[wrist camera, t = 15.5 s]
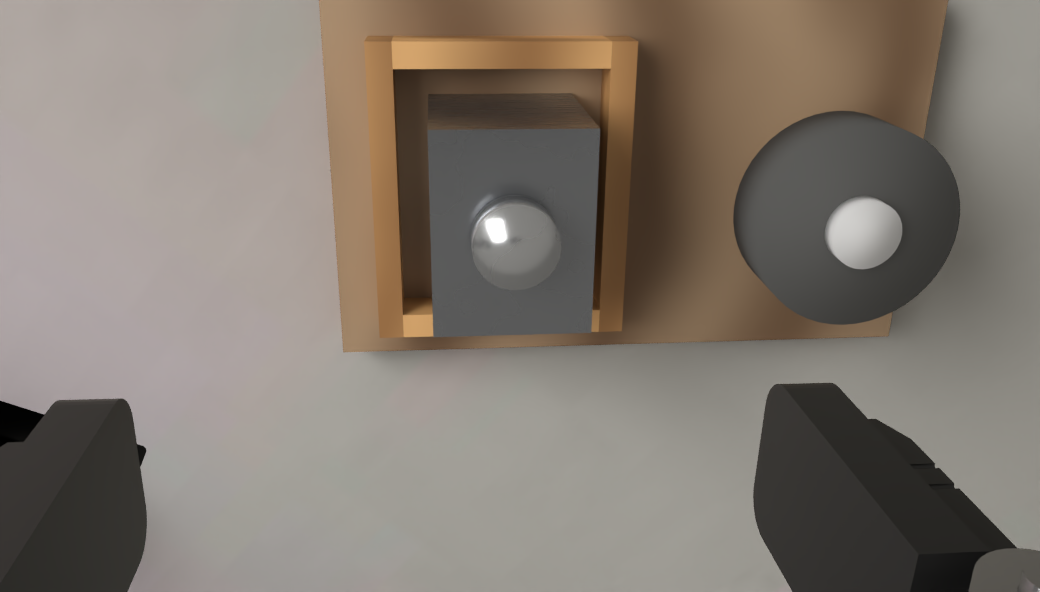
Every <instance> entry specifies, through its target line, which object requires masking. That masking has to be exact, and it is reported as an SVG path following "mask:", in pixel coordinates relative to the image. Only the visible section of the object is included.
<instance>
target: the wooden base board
mask: <svg viewBox="0 0 1040 592" xmlns="http://www.w3.org/2000/svg"><path fill="white" fill-rule="evenodd" d="M947 4H948V0H319V7H320V22H321V36H322V50H323V65H324V79H325V94H326V108H327V122H328V137H329V151H330V166H331V180H332V194H333V209H334V223H335V238H336V252H337V266H338V281H339V295H340V310H341V324H342V339H343V352H367V351H401V350H436V349H470V348H504V347H539V346H573V345H607V344H641V343H676V342H710V341H744V340H778V339H813V338H847V337H881V336H889V330H890V324H891V319H892V313H893V312H891V313H889V314H887V315H884V316H882V317H879V318H876V319H873V320H870V321H866V322H862V323H857V324H847V325H836V324H826V323H820V322H816V321H813V320H810V319H807V318H805V317H803V316H801V315H798V314H797V313H795V312H793V311H792V310H790V309H789V308H787V307H786V306H785V305H784V304H783V303H782V302H781V301H780V300H779V299H778V298H777V297H776V296H775V295H774V294H773V293H772V292H771V291H770V290H769V289H768V288H767V286H766V285H765V284H764V283H763V282H762V281H761V280H760V279H759V278H758V277H757V276H756V275H755V273H754V272H753V271H752V270H751V269H750V267H749V266H748V265H747V263H746V262H745V260H744V258H743V257H742V255H741V252H740V250H739V248H738V245H737V241H736V237H735V233H734V224H733V214H734V204H735V198H736V194H737V191H738V188H739V184H740V182H741V180H742V178H743V175H744V173H745V171H746V170H747V168H748V166H749V165H750V163H751V161H752V160H753V159H754V157H755V156H756V155H757V153H758V152H759V151H760V150H761V149H762V148H763V147H764V145H765V144H766V143H767V142H768V141H769V140H771V139H772V138H773V137H774V136H775V135H777V134H778V133H779V132H780V131H782V130H784V129H785V128H787V127H788V126H790V125H791V124H793V123H795V122H798V121H800V120H802V119H804V118H807V117H810V116H813V115H815V114H820V113H825V112H830V111H855V112H860V113H865V114H868V115H871V116H874V117H876V118H879V119H881V120H883V121H886V122H888V123H890V124H893V125H895V126H897V127H900V128H902V129H904V130H906V131H909V132H911V133H913V134H915V135H917V136H919V137H921V138H922V139H924V133H925V128H926V122H927V117H928V111H929V105H930V100H931V94H932V89H933V83H934V77H935V72H936V66H937V60H938V55H939V49H940V44H941V38H942V32H943V27H944V21H945V15H946V10H947ZM530 93H571V94H572V95H573V96H574V97H575V98H576V100H577V101H578V102H579V103H580V104H581V106H582V107H583V108H584V109H585V111H586V112H587V113H588V114H589V115H590V117H591V118H592V119H593V120H594V122H595V123H596V124H597V125H598V126H599V128H600V146H599V169H598V192H597V215H596V238H595V261H594V284H593V307H592V330H591V333H569V334H533V335H497V336H461V337H433V308H432V273H431V237H430V201H429V166H428V94H530Z"/></svg>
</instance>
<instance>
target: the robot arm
mask: <svg viewBox="0 0 1040 592" xmlns="http://www.w3.org/2000/svg"><path fill="white" fill-rule="evenodd" d="M753 498H754V512H755V518H756V522H757V526H758V529H759V532H760V535H761V537H762V539H763V540H764V542H765V544H766V546H767V547H768V549H769V551H770V553H771V554H772V556H773V558H774V560H775V562H776V563H777V565H778V567H779V569H780V570H781V572H782V574H783V576H784V577H785V579H786V581H787V583H788V584H789V586H790V588H791V590H792V591H793V592H1040V551H1036V550H1031V549H1020V548H1016V546H1015V545H1014V544H1013V543H1012V542H1011V541H1010V540H1009V539H1008V538H1007V537H1006V536H1005V535H1004V534H1003V533H1002V532H1001V531H1000V530H999V529H998V528H997V527H996V526H995V525H994V524H993V523H992V522H991V521H990V520H989V519H988V518H987V517H986V516H985V515H984V514H983V513H982V512H981V510H980V509H979V508H978V507H977V506H976V505H975V504H974V503H973V502H972V501H971V500H970V499H969V498H968V497H967V496H966V495H965V494H964V493H963V492H962V491H961V490H960V489H955V488H954V483H953V482H952V481H951V480H950V479H949V478H948V477H947V476H946V474H945V473H944V472H943V471H942V470H941V469H940V468H935V463H934V462H933V461H932V460H931V459H930V458H929V457H928V456H927V455H926V454H925V453H924V452H923V451H922V450H921V449H920V448H919V447H918V446H917V445H916V444H915V443H914V442H913V441H912V440H911V439H910V438H908V437H906V436H905V435H903V434H901V433H899V432H898V431H896V430H894V429H892V428H891V427H889V426H887V425H885V424H884V423H882V422H880V421H878V420H877V419H867V418H866V416H865V415H864V414H863V413H862V412H861V411H860V410H859V409H858V408H857V407H856V406H855V405H854V403H853V402H852V401H851V400H850V399H849V398H848V397H847V396H846V395H845V394H844V393H843V392H842V390H841V389H840V388H839V387H838V386H837V385H835V384H833V383H807V384H776V385H774V386H773V387H772V388H771V390H770V391H769V394H768V397H767V400H766V406H765V413H764V420H763V427H762V434H761V441H760V448H759V455H758V462H757V469H756V476H755V483H754V495H753ZM146 528H147V515H146V504H145V497H144V491H143V484H142V477H141V470H140V463H139V456H138V450H137V443H136V436H135V429H134V422H133V417H132V412H131V409H130V406H129V404H128V403H127V401H126V400H124V399H89V400H59V401H56V402H55V403H54V404H53V405H52V406H51V407H50V408H49V410H48V411H47V412H46V414H45V415H44V416H43V418H42V419H41V420H40V421H39V423H38V424H37V425H36V427H35V428H34V429H33V431H32V432H31V433H30V434H29V436H28V437H27V438H26V440H25V441H24V442H7V443H6V444H4V445H3V446H1V447H0V592H127V591H128V589H129V587H130V584H131V582H132V580H133V577H134V575H135V573H136V571H137V568H138V566H139V564H140V561H141V558H142V555H143V551H144V546H145V540H146Z"/></svg>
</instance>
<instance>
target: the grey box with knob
mask: <svg viewBox="0 0 1040 592" xmlns="http://www.w3.org/2000/svg"><path fill="white" fill-rule="evenodd" d="M599 146H600V128H599V126H598V125H597V124H596V123H595V122H594V120H593V119H592V118H591V117H590V115H589V114H588V113H587V112H586V111H585V109H584V108H583V107H582V106H581V104H580V103H579V102H578V101H577V100H576V98H575V97H574V96H573V95H572V94H571V93H530V94H428V166H429V201H430V237H431V273H432V308H433V337H461V336H497V335H533V334H569V333H591V330H592V307H593V284H594V261H595V238H596V215H597V192H598V169H599Z"/></svg>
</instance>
